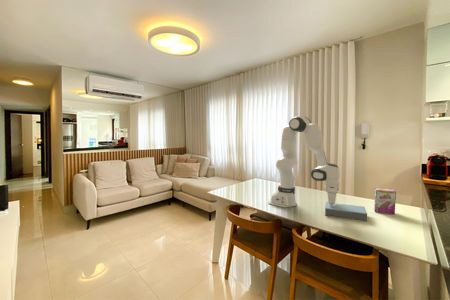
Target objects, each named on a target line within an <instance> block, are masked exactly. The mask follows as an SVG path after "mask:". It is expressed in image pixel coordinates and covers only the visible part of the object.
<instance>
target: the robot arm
mask: <svg viewBox="0 0 450 300" xmlns="http://www.w3.org/2000/svg"><path fill="white" fill-rule="evenodd" d="M301 132H302V133H304V136H305V138H304V139H305V144H306V147H307V149H308V150H309V151H311V152H313V153H314V155H315V158H316V163H317V167H315V168H313V169H312V170H311V171H310V176H311V178H312V180H314V181H316V182H320V181H321V182H322V181H323V182H324V190H325V191H326V193H327V202H328V203H329V204H330V207H333V204H335V203H336V198H337V195H338V192H339V191H340V181H339V180H340V167H339V165H337V164H334V163H328V162H327V157H326V152H325V148H324V143H323V135H322V131H321V127H320V125H319V124H318V123H316V122H314V123H312V122H311V120H310V118H308V117H306V116H294V117H292V118H291V119H290V120H289V122H288V124H287V125H285V126H284V127H283V130H282V134H281V142H280V143H281V145H280V149H281V152H282V157H280V158H279V159H278V160H276V162H275V168H276V169H277V170H278V173H279V178H280V180H279V181H280V182H279V183H280V184H279V185H277V190H276V191H275V192H274V193H273V194H271V197H270V199H268V201H267V203H268V204H269V205H273V206H277V207H280V208H281V207H283V208H289V207H295V206H297V204H298V203H297V200H296V187H295V186H296V185H295V175H293V169H294V168H296V167H297V166H298V163H299V161H298V158H297V151H296V150H297V148H296V147H297V134H299V133H301Z"/></svg>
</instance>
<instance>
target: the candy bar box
mask: <svg viewBox="0 0 450 300" xmlns="http://www.w3.org/2000/svg"><path fill="white" fill-rule="evenodd" d="M396 196H397V192H396V190H395V189H387V188H377V187H376V188H375V189H374V208H373V209H374V213H382V214H389V215H395V213H396V198H397V197H396Z"/></svg>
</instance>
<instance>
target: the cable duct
mask: <svg viewBox="0 0 450 300" xmlns="http://www.w3.org/2000/svg"><path fill="white" fill-rule="evenodd" d="M324 209H325V208H324ZM324 216H326V217H333V218H340V219H346V220H353V221H359V222H366V223H367V222H368V214H367V215H366V214H358V213H351V212H343V211H335V210H328V209H325V212H324Z"/></svg>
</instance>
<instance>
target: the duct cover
mask: <svg viewBox="0 0 450 300" xmlns="http://www.w3.org/2000/svg"><path fill="white" fill-rule="evenodd" d="M324 209H328V210H335V211H343V212H351V213H358V214H366V215H367V216H368V211H367V210H366V208H365V206H362V205H353V204H345V203H336V202H335V204H333V207H330V204H329V202H328V201H327V202H326V201H325V207H324Z"/></svg>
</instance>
